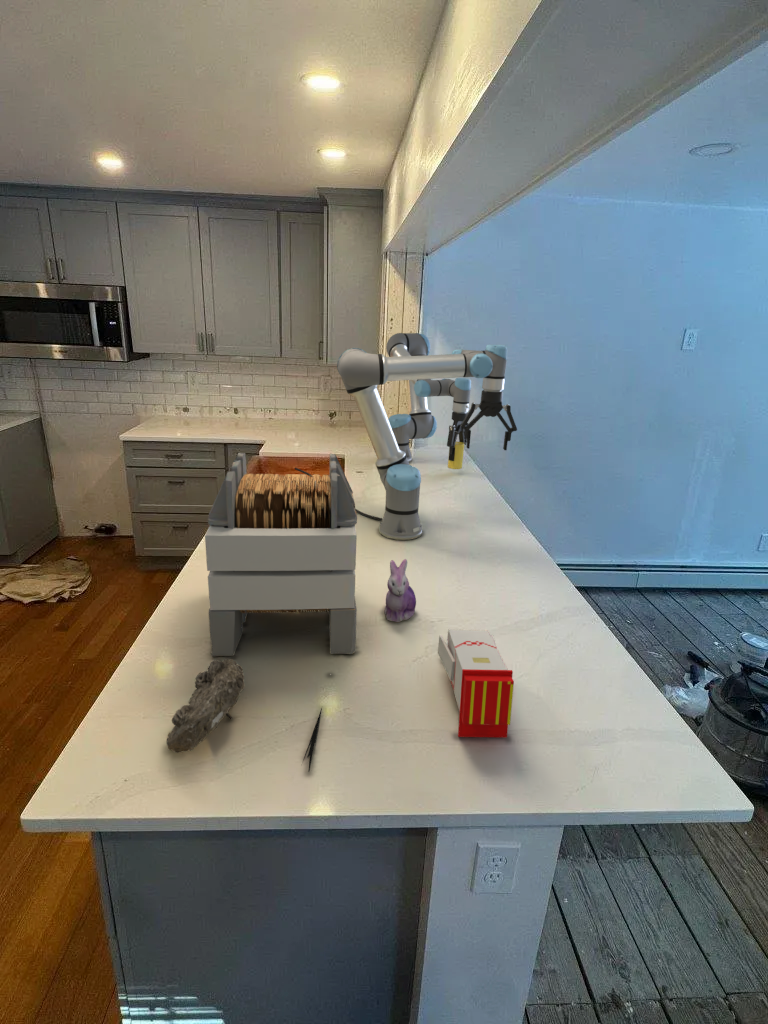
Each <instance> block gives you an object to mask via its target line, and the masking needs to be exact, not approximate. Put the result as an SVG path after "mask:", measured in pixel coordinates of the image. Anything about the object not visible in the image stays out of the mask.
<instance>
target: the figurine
mask: <svg viewBox="0 0 768 1024" xmlns="http://www.w3.org/2000/svg"><path fill="white" fill-rule="evenodd" d="M407 567H408V559H406V558H404V559H403V560H402V561H401V563H400V565H399V566H398V565H397V563H396V562H395V561H394V560H393V559H391V560H390V561H389V570H390V576H389V578H388V579H387V589H388V591H387V592H386V594H385V595H386V596H385V607H384V615H385V616H386V620H387V621H391V622H395V623H400V622H402V621H406V620H409V619H410V618H411V617H413V616H414V615H415V610H416V606H417V597H416V593H415V591H414V590H413V587H411V586H410V582H409V579H408V577H407V574H406V571H407Z"/></svg>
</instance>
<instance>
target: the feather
mask: <svg viewBox="0 0 768 1024" xmlns="http://www.w3.org/2000/svg"><path fill="white" fill-rule="evenodd" d="M329 675H330V676H331V675H332V674H331V673H330V674H329ZM322 710H323V707H321V708H320V710H319V713H318V716H317V719H316V723H315V725H314V728H313V731H312V733H311V737H310V739H309V742H308V745H307V748H306V751H305V754H304V757H303V760H302V763H301V767H302V765H303V763H304V761H305V758H308V759H309V760H308V762H307V763H308V764H307V766H308V771H310V770H311V766H312V765H311V764H312V760H313V757H315V756H314V755H315V751H316V749H315V746H317V739H318V733H319V729H320V722H321V717H322V712H323V711H322ZM313 754H314V755H313ZM306 755H307V757H306Z"/></svg>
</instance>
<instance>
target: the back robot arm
mask: <svg viewBox="0 0 768 1024" xmlns="http://www.w3.org/2000/svg"><path fill="white" fill-rule="evenodd" d="M385 347H386V353H387V356H388V357H400V356H423V355H430V351H431V342H430V340H429V338H428V337H427V336H426V335H425V334H424V333H419V332H413V333H412V332H397V333H394V334H392V335H391V336H390V337H389V339H388V340H387V341H386V346H385ZM408 385H409V395H410V406H411V407H410V408H411V411H410V412H409V413H397V414H393V415H390V416H389V417H388V420H389V423H390V425H391V428H392V431H393V433H394V436H395V439H396V441H397V444H398V447H399V450H401V451H403V452H405V454H406V456H407V459H408V462H409V463H410V462H412V460H413V455H412V452H411V448H410V442H409V441H410V440H409V439H411V440H418V439H428V438H431V437H433V436H434V435H435V433H436V431H437V428H438V427H437V425H438V422H437V419H436V417H435V416H434V415H432V411H431V410H430V409H429V406H428V398H429V397H452V398H453V399H452V408H451V410H452V412H451V420H452V421H453V422H452V425H449V426H448V435H447V442H446V446H447V447H448V457H449V459H448V458H447V461H448V460H450V461H454V456H455V447H454V446H455V443H456V441H457V439H458V442H463V443H464V446H467V439H465V429H462V428H461V426H460V425H461V424H462V422H463V420H464V419H465V417H466V415H467V414H468V412H469V410H470V409H469V408H470V398H471V391H472V380H471V378H469V377H458V378H455V380H453V379H452V378H441V379H420V380H408ZM468 424H469V422H467V424H466V426H467V425H468Z"/></svg>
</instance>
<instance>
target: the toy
mask: <svg viewBox="0 0 768 1024" xmlns="http://www.w3.org/2000/svg"><path fill="white" fill-rule="evenodd" d="M446 640H447V643H446V641H445V639H444V636H443V635H442V634H439V637H438V646H437V656H438V657H439V659H440V661H441V663H442V666H443V668H444V670H445V672H446V674H447V677H448V679H449V681H450V684H451V687H452V690H453V693H454V697H455V701H456V705H457V708H458V711H459V714H458V715H459V716H458V730H457V731H458V732H457V737H458V738H508V731H509V726H510V725H511V717H512V707H513V697H514V696H513V695H514V684H515V680H514V679H513V673H514V671H513V670H512V669H508V667H507V665H506V662H505V661H504V659H503V658H502V655H501V653H500V651H499V649H498V647H497V643H496V639H495V637H494V635H493V634H491V632H490V631H489V629H467V628H466V629H465V628H463V629H461V628H460V629H459V628H448V630H447V639H446Z"/></svg>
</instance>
